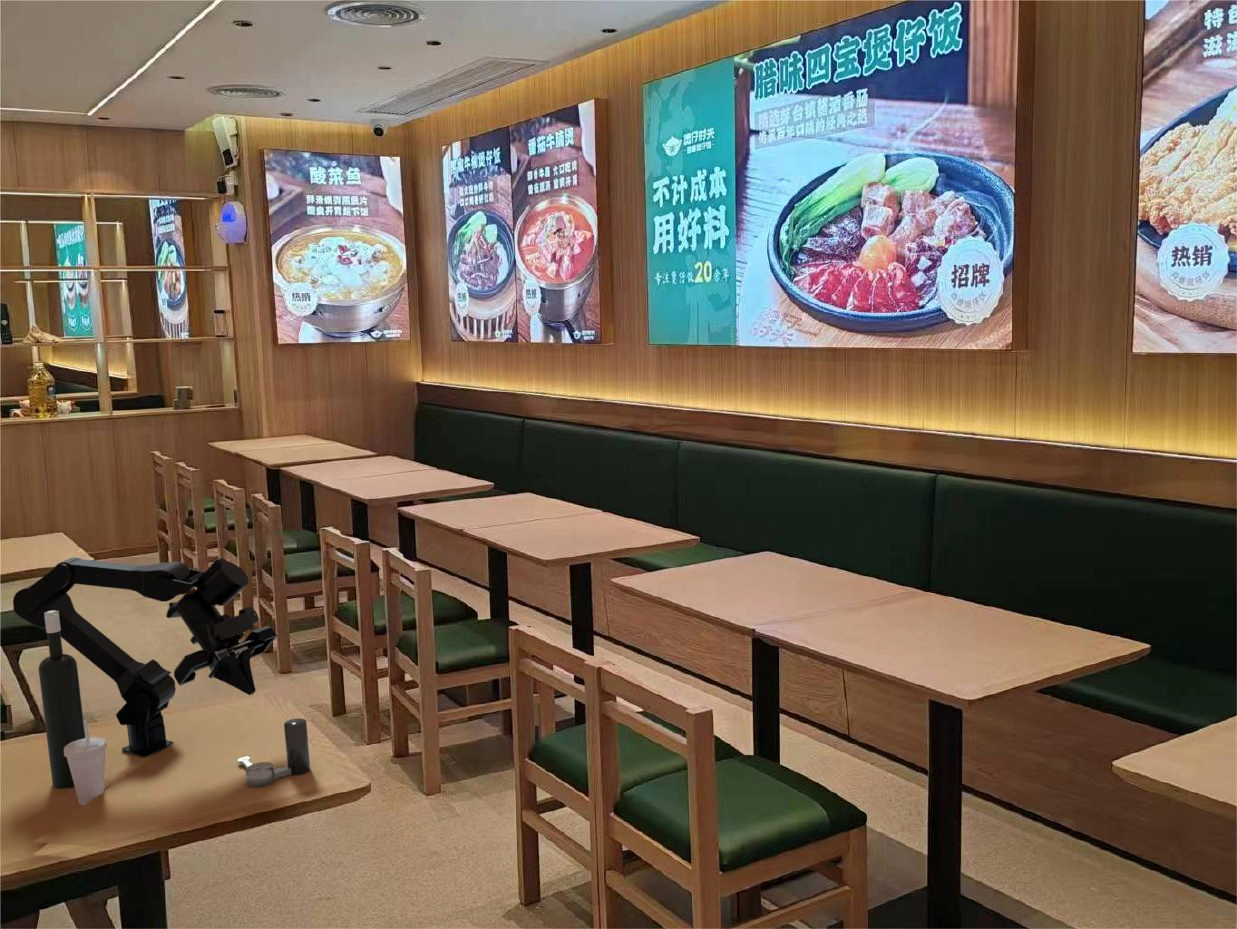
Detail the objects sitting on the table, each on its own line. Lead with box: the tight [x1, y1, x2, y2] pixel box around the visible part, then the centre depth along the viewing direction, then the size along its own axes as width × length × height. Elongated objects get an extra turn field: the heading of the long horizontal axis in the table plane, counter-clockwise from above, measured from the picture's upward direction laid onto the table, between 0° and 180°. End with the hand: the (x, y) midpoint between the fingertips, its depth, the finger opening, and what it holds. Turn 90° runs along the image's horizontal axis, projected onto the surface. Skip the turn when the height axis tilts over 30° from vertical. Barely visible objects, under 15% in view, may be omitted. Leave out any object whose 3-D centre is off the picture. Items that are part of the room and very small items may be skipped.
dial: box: [236, 718, 311, 788], centre depth 188 cm, size 10×12×8 cm
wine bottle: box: [38, 610, 85, 789], centre depth 187 cm, size 6×6×30 cm
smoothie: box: [64, 718, 108, 807], centre depth 181 cm, size 6×6×14 cm
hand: (252, 693), depth 193 cm, fingers closed
